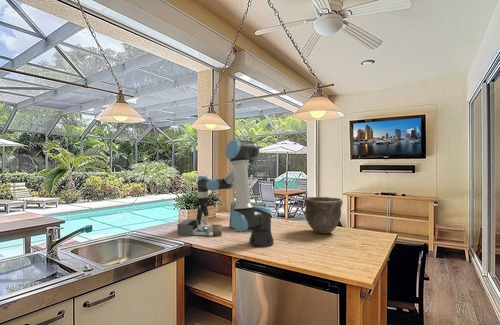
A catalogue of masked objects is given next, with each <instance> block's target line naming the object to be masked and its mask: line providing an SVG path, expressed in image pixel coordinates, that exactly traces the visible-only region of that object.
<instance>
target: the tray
mask: <svg viewBox="0 0 500 325" xmlns="http://www.w3.org/2000/svg"><path fill="white" fill-rule="evenodd" d="M213 225H215V223H214V222H213V223H212V224H210V225H209V226H208V228H207V229H206V232H198V231H197V228H196V229H195V230H193V235H196V236H209V234H211V233H213Z"/></svg>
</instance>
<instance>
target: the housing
mask: <svg viewBox="0 0 500 325" xmlns="http://www.w3.org/2000/svg"><path fill="white" fill-rule="evenodd" d="M197 227H198V220H196V219H195V218H186V219H184V220H182V221H180V222H178V223H177V230H176V231H177V232H176V233H177V236H184V237H185V236H186V237H196V236H197V235H193V230H195V229H196V228H197Z"/></svg>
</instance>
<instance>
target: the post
mask: <svg viewBox="0 0 500 325" xmlns="http://www.w3.org/2000/svg"><path fill="white" fill-rule="evenodd" d="M222 226H223V225H222V224H217V223H216V224H214V225H213V231H212V237H215V238H216V237H217V238H218V237H222V234H223V233H222V232H223V229H222V228H223V227H222Z"/></svg>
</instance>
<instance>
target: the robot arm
mask: <svg viewBox="0 0 500 325" xmlns="http://www.w3.org/2000/svg"><path fill="white" fill-rule="evenodd" d="M224 149H225V151H224V152H225V153H224V154H225V157H226V158H227V159H228V160H229V163H230V164H231V165H232V167H231V169H229V171H228V172H227V173H226V175H225V176H224V177H223V178H215V179H213V178H212V179H210V178H209V177H208V176H207V175H199V176H197V183H196V184H197V185H196V186H197V187H196V189H197V194H196V195H197V201H196V202H197V203H198V205H197V214H196V219H195V220H198V229H202V226H208V216H209V211H208V203H209V198H208V197H209V191H211V192H212V191H217V190H230V189H233V188H234V195H235V200H236V201H235V202H236V206H235V208H234V212H233V213H232V214H231V223H232V226H233V227H234V228H235V229H234V228H233V229H234V230H236V231H237V232H246V231H251V234H250V237H249V240H248V241H249V245H250V246H252V247H257V248H258V247H259V248H265V247H266V248H268V247H271V246H273V245H274V243H275V242H274V238H273V237H274V236H273V234H272V227H271V226H272V210H271V208H270V207H269V206H268V207H262V206H252V205H251V203H250V202H251V200H250V199H251V194H250V184H249V172H248V170H249V169H248V167H249V166H250V165H251V164H254V162H255V161H256V160H257V159H258V158H259V155H260V148H259V145H258V144H257V143H256V142H255V141H253V140H246V139H232V140H229V141H228V142H227V144H226V146H225V148H224ZM202 218H203V220H202ZM202 221H203V222H202ZM250 229H252V230H250Z"/></svg>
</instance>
